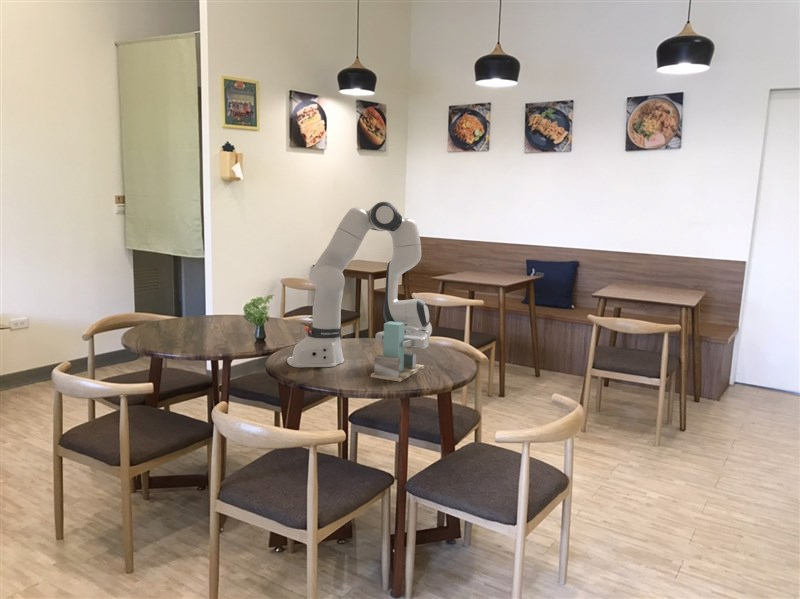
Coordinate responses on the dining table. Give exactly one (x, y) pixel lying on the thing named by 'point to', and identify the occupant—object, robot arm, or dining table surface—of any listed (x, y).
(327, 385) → the dining table surface
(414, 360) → the block
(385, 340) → the teal block
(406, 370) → the vise base
